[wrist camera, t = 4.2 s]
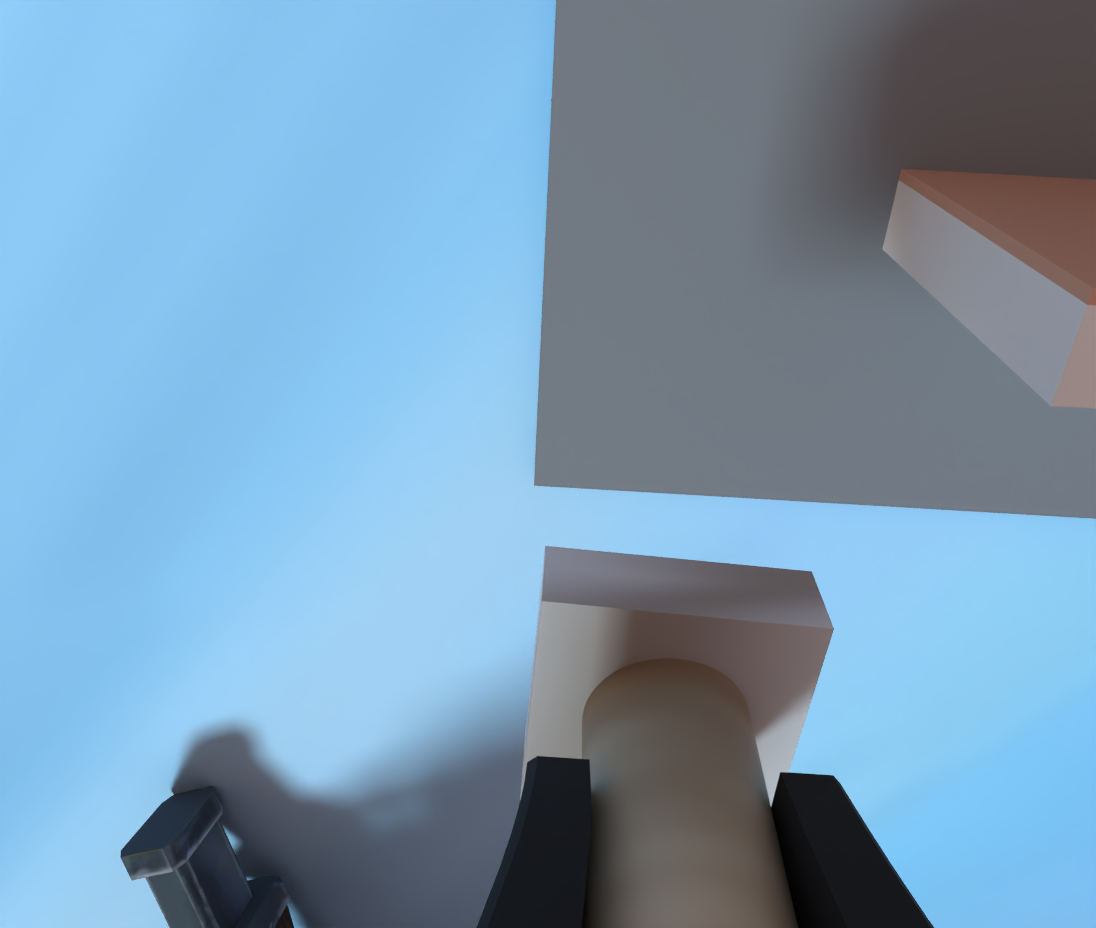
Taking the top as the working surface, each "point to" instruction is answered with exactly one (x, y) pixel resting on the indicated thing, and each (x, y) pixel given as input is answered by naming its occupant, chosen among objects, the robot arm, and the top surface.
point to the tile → (1008, 268)
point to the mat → (796, 250)
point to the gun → (201, 869)
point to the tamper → (677, 727)
